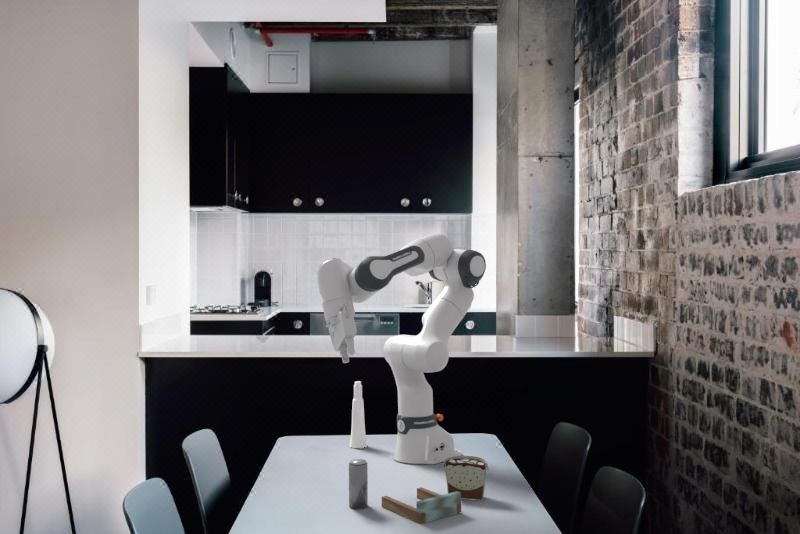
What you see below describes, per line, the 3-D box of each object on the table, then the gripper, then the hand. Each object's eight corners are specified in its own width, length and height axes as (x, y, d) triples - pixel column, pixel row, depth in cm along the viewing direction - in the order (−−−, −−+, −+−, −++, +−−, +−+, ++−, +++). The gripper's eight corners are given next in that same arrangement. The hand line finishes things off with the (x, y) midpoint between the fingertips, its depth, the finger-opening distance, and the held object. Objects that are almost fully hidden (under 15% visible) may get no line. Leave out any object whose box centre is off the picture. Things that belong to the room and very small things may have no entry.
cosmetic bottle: (370, 446, 252) (370, 381, 252) (357, 449, 248) (356, 383, 248) (359, 443, 257) (358, 379, 256) (345, 446, 253) (345, 381, 252)
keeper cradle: (421, 496, 199) (421, 477, 198) (461, 512, 186) (461, 492, 186) (381, 506, 191) (381, 487, 191) (420, 523, 178) (420, 503, 178)
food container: (493, 494, 200) (493, 457, 200) (488, 501, 194) (488, 463, 194) (449, 490, 204) (448, 453, 204) (442, 496, 198) (442, 459, 198)
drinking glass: (360, 501, 195) (360, 457, 194) (371, 506, 191) (371, 461, 191) (345, 505, 192) (345, 460, 192) (355, 510, 188) (355, 464, 188)
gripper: (355, 300, 207) (366, 347, 203) (344, 320, 226) (354, 364, 222) (333, 303, 205) (343, 351, 201) (324, 323, 224) (333, 368, 220)
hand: (349, 358), depth 212 cm, fingers open, 8 cm apart
